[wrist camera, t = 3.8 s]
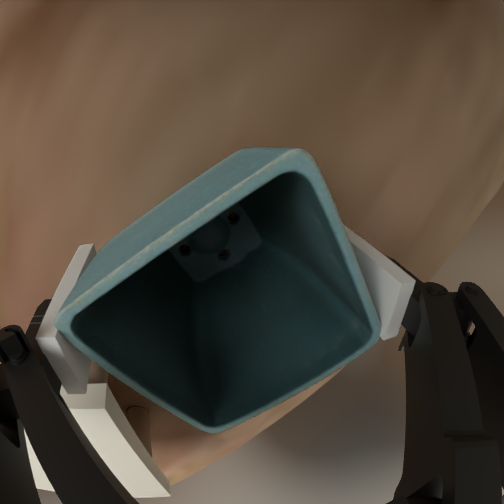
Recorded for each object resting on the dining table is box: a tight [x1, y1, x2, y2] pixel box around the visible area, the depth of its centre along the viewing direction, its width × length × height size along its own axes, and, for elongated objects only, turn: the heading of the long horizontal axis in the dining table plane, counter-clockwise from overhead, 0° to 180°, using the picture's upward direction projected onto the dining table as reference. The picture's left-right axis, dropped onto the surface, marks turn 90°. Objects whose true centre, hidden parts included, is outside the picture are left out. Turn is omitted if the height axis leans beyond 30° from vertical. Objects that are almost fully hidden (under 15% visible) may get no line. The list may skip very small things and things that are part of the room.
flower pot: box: [54, 147, 381, 433], centre depth 13 cm, size 9×9×9 cm
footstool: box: [24, 360, 171, 498], centre depth 15 cm, size 14×14×8 cm
